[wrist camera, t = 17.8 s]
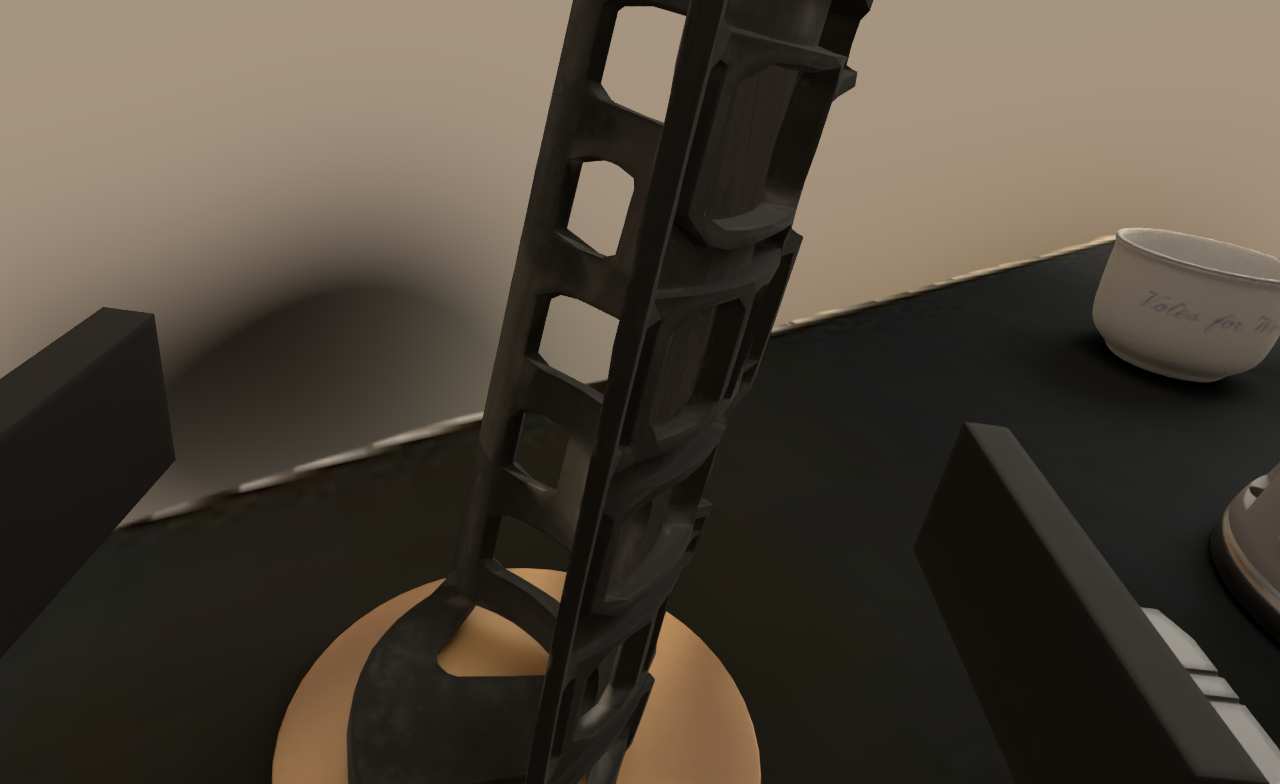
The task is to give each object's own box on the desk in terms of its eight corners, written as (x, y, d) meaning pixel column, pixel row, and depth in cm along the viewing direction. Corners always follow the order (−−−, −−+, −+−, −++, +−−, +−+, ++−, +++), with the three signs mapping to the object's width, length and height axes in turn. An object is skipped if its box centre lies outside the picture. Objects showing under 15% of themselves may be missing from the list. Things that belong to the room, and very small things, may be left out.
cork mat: (732, 600, 29) (735, 589, 29) (793, 1026, 18) (799, 1014, 18) (358, 559, 28) (358, 547, 28) (172, 981, 17) (169, 969, 17)
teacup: (1104, 381, 51) (1162, 259, 48) (1051, 314, 61) (1096, 208, 57) (1333, 425, 51) (1411, 306, 47) (1244, 350, 60) (1303, 246, 56)
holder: (320, 608, 25) (394, -158, 16) (553, 583, 29) (720, -57, 20) (378, 1000, 17) (603, -152, 8) (699, 896, 20) (1109, 23, 11)
